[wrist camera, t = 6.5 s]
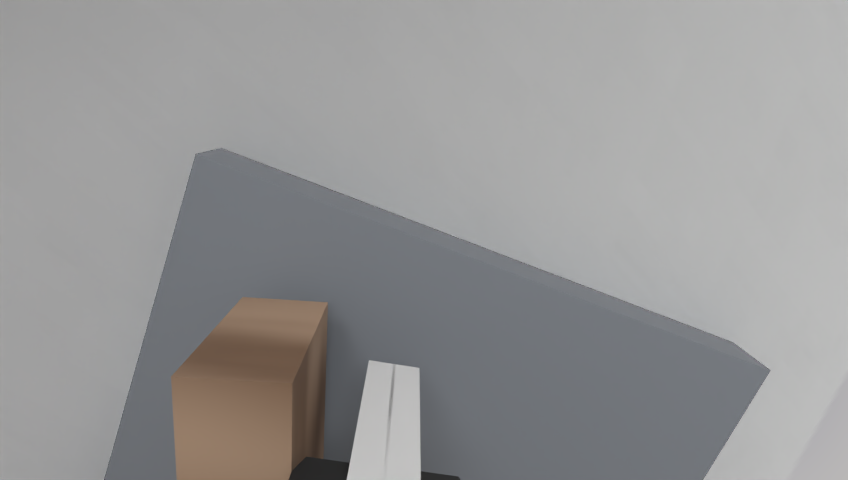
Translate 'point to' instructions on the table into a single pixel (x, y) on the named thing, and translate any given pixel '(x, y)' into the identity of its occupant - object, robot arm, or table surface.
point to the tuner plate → (435, 340)
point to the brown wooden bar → (253, 393)
